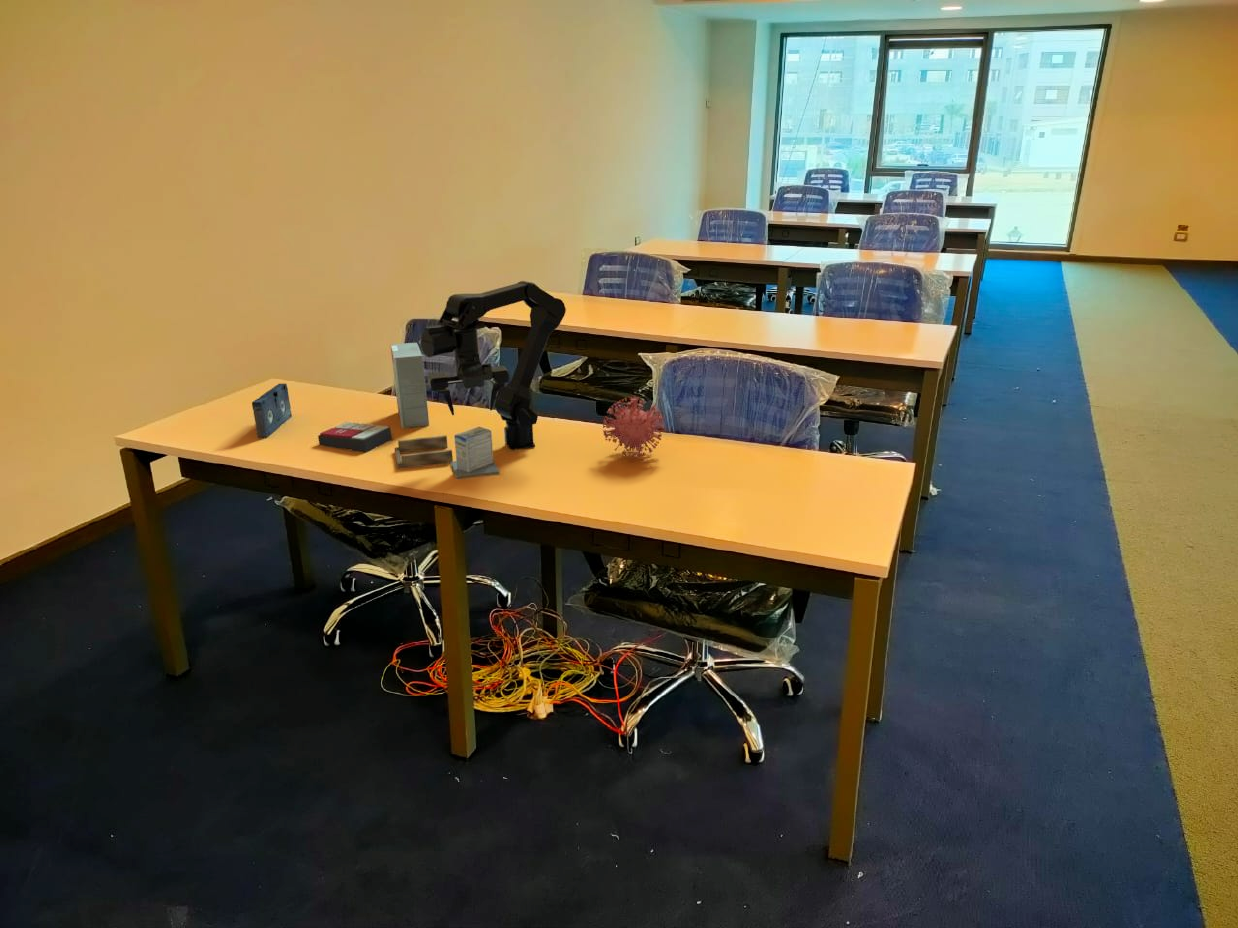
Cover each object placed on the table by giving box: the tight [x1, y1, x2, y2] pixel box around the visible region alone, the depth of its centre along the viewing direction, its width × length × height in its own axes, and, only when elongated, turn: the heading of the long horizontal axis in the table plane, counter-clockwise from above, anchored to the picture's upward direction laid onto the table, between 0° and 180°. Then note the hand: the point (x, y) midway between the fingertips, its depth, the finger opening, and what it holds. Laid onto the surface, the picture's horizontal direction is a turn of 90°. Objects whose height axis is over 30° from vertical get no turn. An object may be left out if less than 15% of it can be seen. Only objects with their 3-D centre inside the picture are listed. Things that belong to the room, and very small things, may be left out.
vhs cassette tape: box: [251, 383, 293, 439], centre depth 234 cm, size 18×3×10 cm, turn 178°
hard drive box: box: [389, 342, 430, 429], centre depth 237 cm, size 16×8×20 cm, turn 17°
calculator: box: [317, 421, 393, 453], centre depth 223 cm, size 11×4×15 cm
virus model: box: [602, 396, 665, 459], centre depth 209 cm, size 15×15×15 cm
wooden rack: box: [394, 434, 454, 469], centre depth 212 cm, size 13×12×3 cm
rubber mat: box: [450, 458, 500, 480], centre depth 205 cm, size 10×10×1 cm
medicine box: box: [454, 426, 494, 473], centre depth 203 cm, size 8×4×9 cm, turn 141°
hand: (472, 412), depth 207 cm, fingers open, 9 cm apart
